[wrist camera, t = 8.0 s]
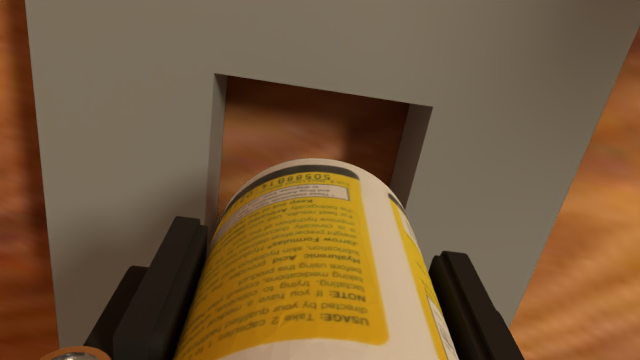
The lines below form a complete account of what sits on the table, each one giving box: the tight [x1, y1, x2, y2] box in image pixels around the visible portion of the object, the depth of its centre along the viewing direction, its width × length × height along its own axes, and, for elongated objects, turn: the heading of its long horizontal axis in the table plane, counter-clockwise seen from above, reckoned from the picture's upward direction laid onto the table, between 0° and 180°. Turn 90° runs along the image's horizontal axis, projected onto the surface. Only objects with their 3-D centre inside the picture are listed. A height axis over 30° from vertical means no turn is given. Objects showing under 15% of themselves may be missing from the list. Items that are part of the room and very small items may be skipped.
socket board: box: [25, 0, 640, 349], centre depth 18 cm, size 18×18×3 cm
